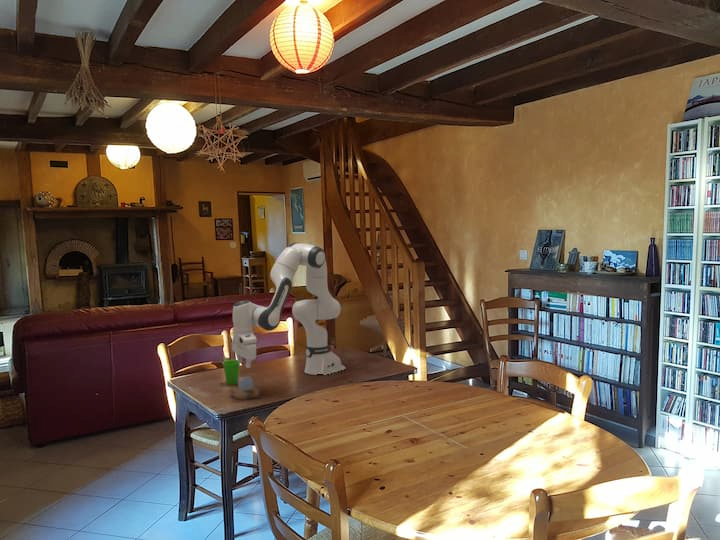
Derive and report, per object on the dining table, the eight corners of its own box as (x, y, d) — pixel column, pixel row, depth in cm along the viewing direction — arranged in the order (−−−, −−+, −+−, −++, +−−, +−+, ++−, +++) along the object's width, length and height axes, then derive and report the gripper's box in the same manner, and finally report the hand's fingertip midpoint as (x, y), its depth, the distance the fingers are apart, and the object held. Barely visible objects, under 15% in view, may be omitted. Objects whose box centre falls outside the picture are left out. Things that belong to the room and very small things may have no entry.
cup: (238, 386, 248) (238, 364, 248) (220, 386, 249) (219, 364, 248) (243, 380, 257) (242, 359, 256) (225, 380, 258) (224, 359, 257)
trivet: (252, 389, 244) (252, 382, 244) (264, 395, 234) (264, 389, 233) (226, 394, 236) (226, 388, 236) (238, 401, 226) (237, 395, 226)
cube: (248, 386, 238) (247, 376, 238) (252, 389, 234) (252, 378, 234) (238, 388, 235) (237, 378, 235) (242, 391, 231) (242, 380, 231)
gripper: (228, 332, 240) (229, 361, 241) (245, 341, 223) (246, 372, 225) (240, 330, 244) (241, 359, 245) (258, 339, 227) (259, 369, 228)
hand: (244, 365), depth 235 cm, fingers open, 8 cm apart
